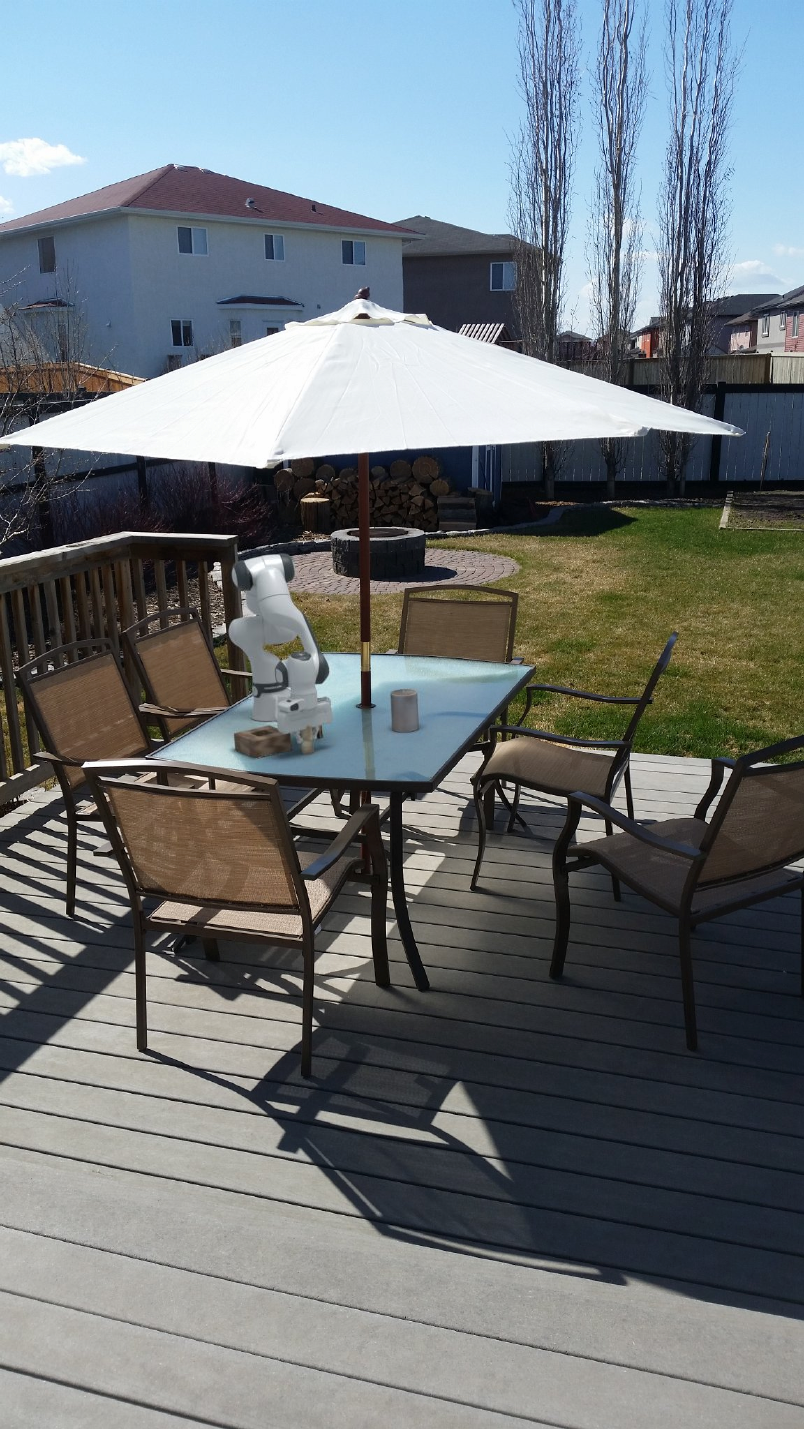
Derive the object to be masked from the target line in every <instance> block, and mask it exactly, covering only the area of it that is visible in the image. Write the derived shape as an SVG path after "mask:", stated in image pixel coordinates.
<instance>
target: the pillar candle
mask: <svg viewBox="0 0 804 1429" xmlns="http://www.w3.org/2000/svg"><path fill="white" fill-rule="evenodd" d="M418 702H419V701H418V691H417V690H415V689H412V688H402V689H395V690H392V691H390V711H391V712H390V713H391V729H392V731H393V732H395V733H400V734H401V733H402V734H404V733H405V734H406V733H412V732H416V731H418V730H419V729H420V725H419V724H420V722H419V720H420V718H419V703H418Z"/></svg>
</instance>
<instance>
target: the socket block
mask: <svg viewBox="0 0 804 1429" xmlns="http://www.w3.org/2000/svg"><path fill="white" fill-rule="evenodd" d="M291 736H292V734H291V733H287V734H283V733H280V732H279V731H278V728H277V727H274V726H272V725H269V724H268V725H265V726H261V727H256V728H251V729H247V730H243V731H239V732H235V733H233V738H234V739H233V740H234V741H233V742H234V748H235V749H234V750H235V751H236V752H238V751H239V753H241V754H243V753H244V755H246V756H248V755H249V757H250V758H253V759H255V758H257V759H260V758H259V757H261V758H263V757H262V756H265V755H269V756H271V755H270V754H273V755H276V754H275V753H277V754H280V753H285V752H289V751H292V750H293V749H292V738H291ZM265 757H266V756H265Z"/></svg>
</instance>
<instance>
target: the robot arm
mask: <svg viewBox="0 0 804 1429" xmlns="http://www.w3.org/2000/svg"><path fill="white" fill-rule="evenodd" d="M295 573H296V565H295V563H294V561H293V558H292V557H291V556H290V555H289V554H288V553H278V554H266V555H261V556H257V557H252V558H249V559H246V560H243V559H242V560H239V561H237V562H235V563H234V564H233V566H232V571H231V578H232V582H233V583H234V585H235V587H236V588H237V589H238V590H240V591H244V592H245V602H246V604H245V605H246V606H247V608H248V610H249V611H250V612H251V613H252V614H254V615H255V616H253V615H252V616H243V617H239V618H236V619H235V618H234V619H233V620H232V621H231V622H230V624H229V628H228V636H229V639H230V641H231V642H232V643H233V644H234V645H235V646H237V647H239V648H240V649H241V650H242V651H243V652H244V653H245V655H246V657H247V658H248V660H249V662H250V669H251V676H252V681H251V688H252V689H251V691H252V697H253V701H252V702H253V704H252V705H253V706H252V713H251V719H252V720H254V721H259V722H272V721H273V722H276V726H277V727H276V728H278V731H279V732H280V733H283V734H287V733H292V734H293V735H294V736H295V737H296V743H297V744H301V743H303V738H302V737H301V735H299V734H300V730H304V729H306V728H307V726H308V725H311V727H312V728H313V729H314V730H313V732H312V734H313V741H314V740H317V739H318V738H317V733H318V731H319V726H321V725H322V726H325V725H330V724H332V723H333V721H334V716H333V710H332V701H331V699H330V698H329V697H327V696H323V697H318V690H317V687H316V685H322V684H324V683H325V681H326V680H327V679H328V677H329V675H330V666H329V663H328V661H327V659H326V657H325V656H324V654H323V653H322V650H321V648H320V646H319V643H318V641H317V638H316V636H315V634H314V631H313V629H312V626H311V625H310V622H309V619H308V617H307V616H306V615H305V612H303V611H302V610H300V609H298V608H297V607H296V605H295V604H294V602H293V600H292V597H291V593H290V590H289V587H288V584H287V583H290V582H292V581H293V579H294V578H295V576H296V574H295ZM297 637H299V640H300V642H301V645H302V647H303V648H304V651H295V652H292V653H291V654H290V655H289V657H288V658H285V659H282V660H281V659H280V658H279V657H278V656H277V655H275V654H274V653H271V652H269V651H266V650H265V648H264V646H266V645H267V646H268V645H280V644H281V645H283V644H285V643H286V644H287V643H290V642H294V641H295V639H296V638H297ZM289 688H290V689H289Z"/></svg>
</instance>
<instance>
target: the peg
mask: <svg viewBox="0 0 804 1429" xmlns="http://www.w3.org/2000/svg"><path fill="white" fill-rule="evenodd" d="M300 734H301V735H300V737H302V738H303V743H300V745H301V748H300V749H301V755H304V756H305V755H306V756H307V755H309V756H310V755H313V754H314V753H315V750H314V740H313V734H312V727H311V725H308V726H307V728H306V729H304V730H300Z"/></svg>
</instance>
